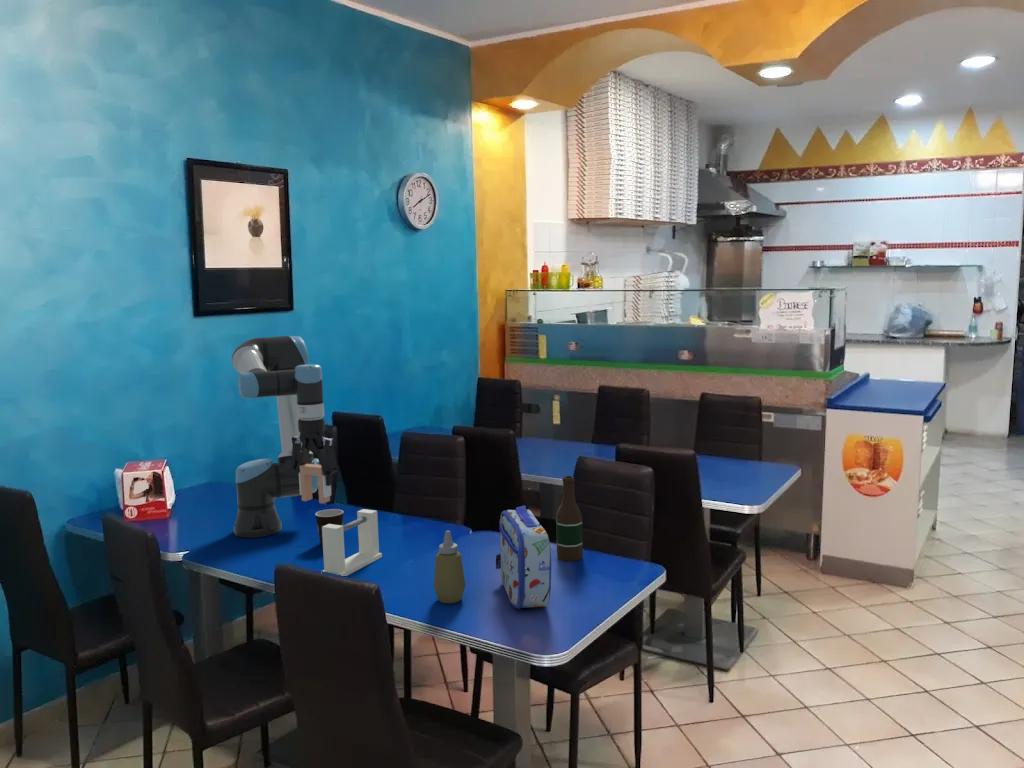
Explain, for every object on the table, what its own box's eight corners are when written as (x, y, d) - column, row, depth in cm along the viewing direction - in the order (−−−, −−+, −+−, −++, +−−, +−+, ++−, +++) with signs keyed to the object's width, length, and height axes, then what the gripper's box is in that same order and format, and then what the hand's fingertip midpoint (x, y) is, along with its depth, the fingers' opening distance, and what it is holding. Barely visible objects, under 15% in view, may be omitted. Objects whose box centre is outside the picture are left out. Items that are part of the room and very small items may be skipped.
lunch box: (493, 578, 226) (491, 500, 223) (530, 575, 228) (529, 497, 225) (515, 618, 199) (513, 529, 196) (557, 614, 201) (555, 525, 198)
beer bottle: (586, 554, 243) (585, 474, 240) (579, 563, 236) (578, 480, 233) (560, 552, 246) (559, 473, 243) (553, 560, 239) (551, 479, 235)
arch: (301, 500, 243) (299, 465, 242) (308, 498, 246) (306, 463, 245) (323, 503, 240) (321, 467, 238) (329, 500, 242) (327, 465, 241)
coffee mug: (338, 549, 254) (336, 517, 253) (312, 547, 256) (310, 516, 254) (353, 537, 265) (351, 506, 264) (328, 536, 267) (326, 506, 266)
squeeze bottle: (434, 594, 215) (431, 527, 213) (465, 592, 216) (463, 525, 214) (434, 606, 207) (431, 537, 205) (466, 605, 208) (464, 535, 206)
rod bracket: (321, 574, 232) (318, 526, 230) (362, 554, 249) (360, 508, 247) (341, 578, 229) (339, 529, 227) (382, 557, 246) (379, 511, 244)
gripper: (274, 418, 241) (279, 494, 244) (331, 422, 232) (335, 501, 235) (292, 414, 248) (296, 488, 251) (348, 417, 238) (352, 495, 241)
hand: (315, 494), depth 243 cm, fingers closed on arch, 8 cm apart
